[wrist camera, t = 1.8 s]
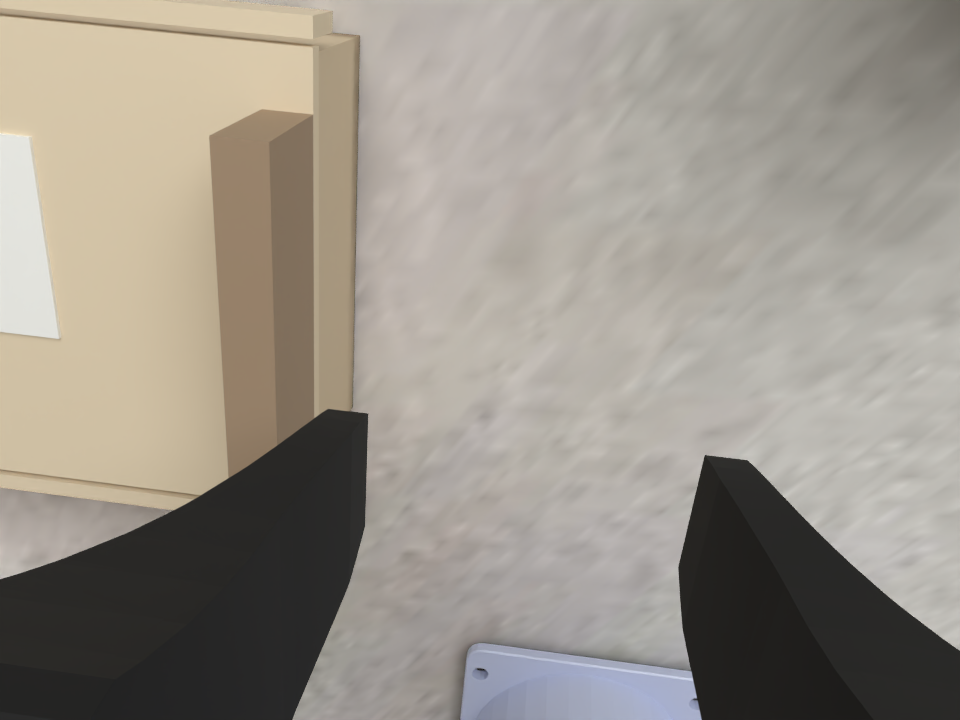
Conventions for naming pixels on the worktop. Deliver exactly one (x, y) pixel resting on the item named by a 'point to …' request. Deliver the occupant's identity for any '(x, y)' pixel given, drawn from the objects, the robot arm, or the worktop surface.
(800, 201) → the worktop surface
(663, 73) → the worktop surface
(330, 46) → the mailer box
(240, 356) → the lid
